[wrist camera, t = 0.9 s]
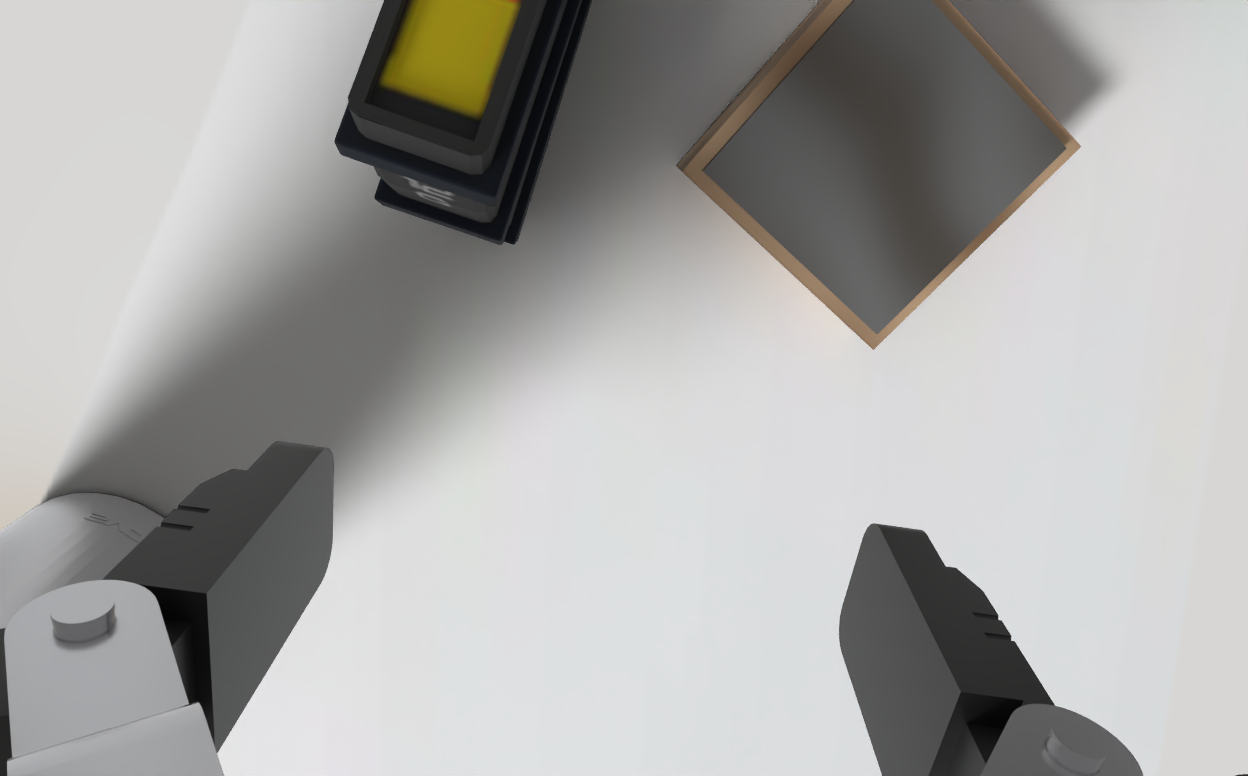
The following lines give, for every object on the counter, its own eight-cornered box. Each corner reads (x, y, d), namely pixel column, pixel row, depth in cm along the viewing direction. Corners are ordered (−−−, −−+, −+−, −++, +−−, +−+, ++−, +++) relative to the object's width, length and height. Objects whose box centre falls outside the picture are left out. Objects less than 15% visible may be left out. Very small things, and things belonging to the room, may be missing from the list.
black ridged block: (405, 279, 32) (321, 120, 17) (510, -21, 34) (517, -400, 19) (498, 310, 32) (494, 181, 18) (597, 12, 34) (670, -333, 19)
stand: (852, 329, 34) (876, 352, 31) (676, 165, 32) (682, 172, 29) (1040, 142, 32) (1087, 146, 29) (864, -49, 30) (894, -68, 27)
